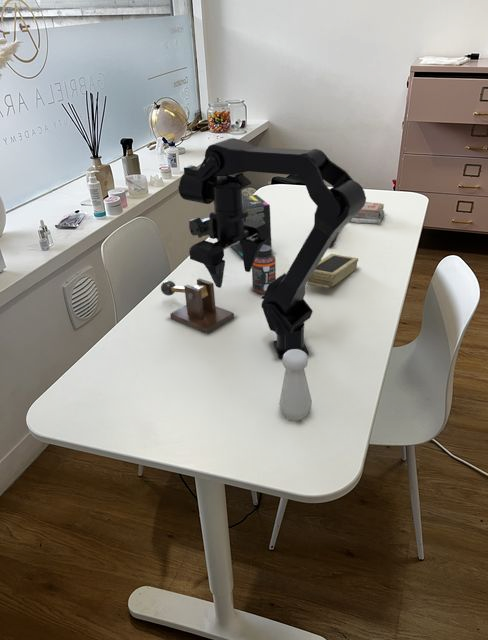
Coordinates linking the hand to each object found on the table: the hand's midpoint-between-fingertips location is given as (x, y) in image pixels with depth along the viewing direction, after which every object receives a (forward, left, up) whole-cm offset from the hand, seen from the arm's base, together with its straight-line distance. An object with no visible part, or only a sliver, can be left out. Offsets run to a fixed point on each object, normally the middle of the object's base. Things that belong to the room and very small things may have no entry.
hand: (233, 279), depth 119 cm
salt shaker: (-31, -6, -13) cm, 34 cm away
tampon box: (+45, -11, -13) cm, 48 cm away
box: (+21, -29, -13) cm, 38 cm away
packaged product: (+63, -49, -13) cm, 81 cm away
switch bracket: (+8, +7, -13) cm, 17 cm away
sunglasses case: (+50, -35, -13) cm, 62 cm away
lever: (+12, +10, -9) cm, 18 cm away
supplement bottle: (+19, -10, -13) cm, 25 cm away
